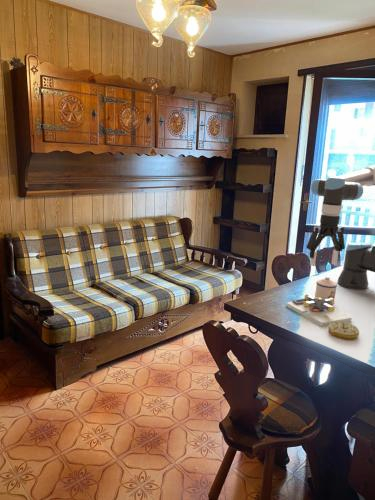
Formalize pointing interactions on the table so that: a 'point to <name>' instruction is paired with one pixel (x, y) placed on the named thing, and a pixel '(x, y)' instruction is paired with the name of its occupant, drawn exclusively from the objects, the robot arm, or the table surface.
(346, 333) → the olive yellow engraved disc
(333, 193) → the robot arm
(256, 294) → the table surface
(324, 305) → the capstan
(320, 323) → the level stand
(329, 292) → the teacup with lid
